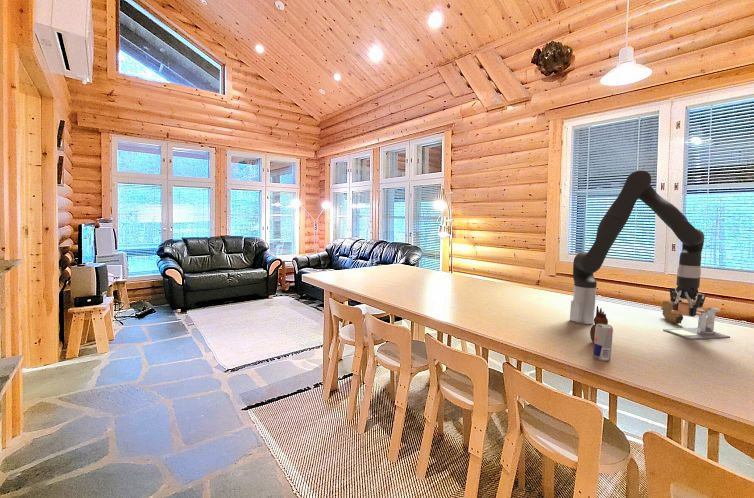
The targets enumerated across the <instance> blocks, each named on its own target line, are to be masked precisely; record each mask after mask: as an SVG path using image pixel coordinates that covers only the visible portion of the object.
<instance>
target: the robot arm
mask: <svg viewBox="0 0 754 498" xmlns="http://www.w3.org/2000/svg"><path fill="white" fill-rule="evenodd" d="M651 183H652V176H651V174H650V172H648V170H646V169H638V170H635V171H632V172H631V173H630V174H629V175H628V176H627V178H626V181H625V183H624V185H623V187H622V189H621V191H620V193H619V194H618V196H617V197H616V198H615V200H614V201H613V202H612V204H611V206H610V207H609V208H608V209H607V211H605V212H606V213H605V214H604V215H603V217H602V218H601V221H599V223H598V227H597V229H596V236H595V240H594V242H593V244H592V246H591V247H590V249H589V250H588V251H582V252H579V253H577V254H576V255H575V257H574V258H573V265H572V278H573V282H574V283H573V297H572V300H571V301H570V310H569V320H570V321H571V322H574V323H577V324H582V325H594V324H595V323H594V318H595V313H596V311H595V310H596V296H597V284H598V283H597V280H596V279H595V276H594V274H595V273H597V271H599V270H600V269H601V267H602V265H603V263H604V261H605V259H606V257H607V255H608V253H609V251H610V250H611V247H612V246H613V245H614V243H615V241H616V240H617V238H618V237H619V234H620V233H621V231H622V230H623V229H624V228H625V226H626V224H627V222H628V220H629V218H630V216H631V214H632V211H633V210H634V207H635V204H636V203H637V201H638V200H641V201H642V202H643V203H644V204H645V205H646V206H647V207H648V208H650V209H651V210H652V211H653V212H654V213H655V215H657V217H658V218H659V219H660V220H661V221H662V222H663V223H664V224H665V225H666V226H668V228H669V229H671V231H672V232H673V233H674V235H675V236H676V238H677V239H678V240H679V241H680V242H681V243H682V248H681V252H680V254H679V262H678V268H677V272H676V273H677V275H676V283H675V284H676V286H677V287H669V296H670V301H672V302H674V303H675V310H677V311H678V304H679V303H681V302H684V301H687V303H689V304H690V307H691V308H690V311H689V316H688V317H696V316H697V315H696V311H697V309H702V308H703V306H704V304H705V300H706V297H707V295H706V293H700V292H699V288H700V286H701V285H700V284H701V274H702V271H701V269H702V268H701V265H702V264H701V263H702V252H703V248H704V242H705V234H704V232H703V231H702V230H701V229H699V228H696V227H695V226H694V225H693V224H691V222H689V220H688V217H687V216H685V214H683V213H682V212H681V211H680V209H678V208H677V207H676V206H675V204H672V202H669V200H667V199H665V198H664V197H662V196H661V195H660V194H659V193H658V192H657V191H656V190H655V189H654V188H653V186H652V185H651ZM693 304H694V305H693Z"/></svg>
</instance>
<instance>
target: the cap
mask: <svg viewBox="0 0 754 498" xmlns="http://www.w3.org/2000/svg"><path fill="white" fill-rule="evenodd" d="M693 305H694V304H693ZM690 308H691V307H690V304H689V303H688V302H685V301H683V302H681V303H679V304H678V311H677V310H672V313H677V314H680V315H683V316H687V317H690V316H689V311H690ZM696 316H697V317H699V316H701V313H699V312H696Z"/></svg>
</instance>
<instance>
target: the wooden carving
mask: <svg viewBox="0 0 754 498" xmlns="http://www.w3.org/2000/svg"><path fill="white" fill-rule="evenodd" d="M660 309H661V310H662V316H663V317H664V319H665V320H666V321H668V322H669V323H670V322H671V323H672V322H673V324H682V321H683V320H684V315H680V314H677V313H672V310H675V303H674V302H672V301H671V300H662V306H661V307H660Z"/></svg>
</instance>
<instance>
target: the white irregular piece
mask: <svg viewBox="0 0 754 498" xmlns="http://www.w3.org/2000/svg"><path fill="white" fill-rule="evenodd" d="M721 311H722V309H721V308H717V307H707V310H705V309H703V308H697V311H696V312H698V313H701V316H698V321H697V328H698V329H697V334H713V331H714V328H715V319H716V313H717V312H718V313H719V312H720V313H721Z"/></svg>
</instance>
